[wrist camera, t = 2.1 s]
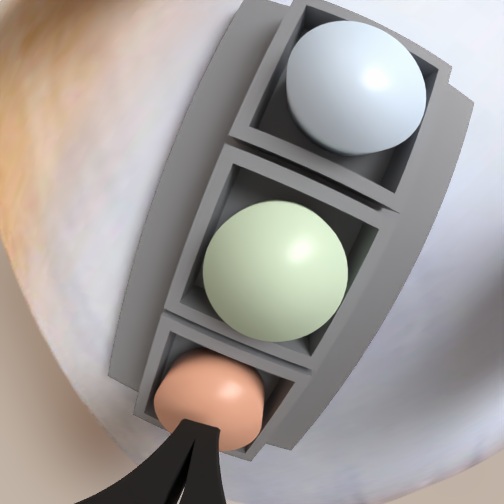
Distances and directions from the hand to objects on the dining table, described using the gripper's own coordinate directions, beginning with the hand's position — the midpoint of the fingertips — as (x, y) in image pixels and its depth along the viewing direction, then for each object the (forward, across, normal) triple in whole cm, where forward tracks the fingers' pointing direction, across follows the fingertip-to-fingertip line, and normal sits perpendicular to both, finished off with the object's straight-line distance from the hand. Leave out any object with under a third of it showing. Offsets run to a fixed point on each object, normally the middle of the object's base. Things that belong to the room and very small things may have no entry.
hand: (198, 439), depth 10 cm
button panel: (+5, -1, -6) cm, 8 cm away
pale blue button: (+3, -2, -13) cm, 13 cm away
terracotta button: (+3, 0, 0) cm, 3 cm away
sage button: (+3, -1, -6) cm, 7 cm away
